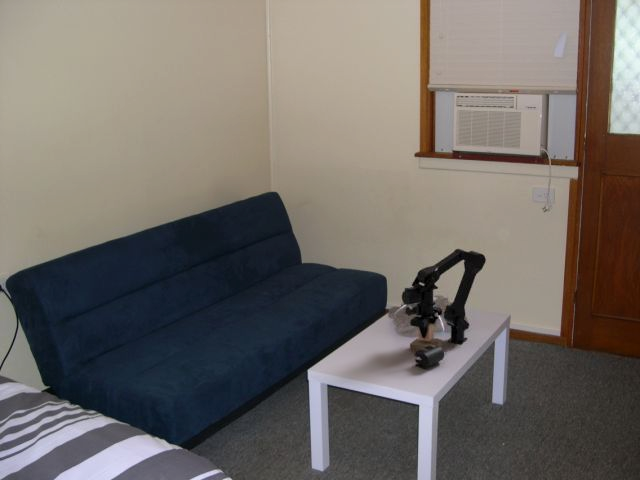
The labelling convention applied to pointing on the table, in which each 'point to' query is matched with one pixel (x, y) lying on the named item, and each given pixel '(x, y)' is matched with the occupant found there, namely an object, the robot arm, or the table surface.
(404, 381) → the table surface
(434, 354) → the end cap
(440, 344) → the tan block
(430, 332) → the terracotta block
